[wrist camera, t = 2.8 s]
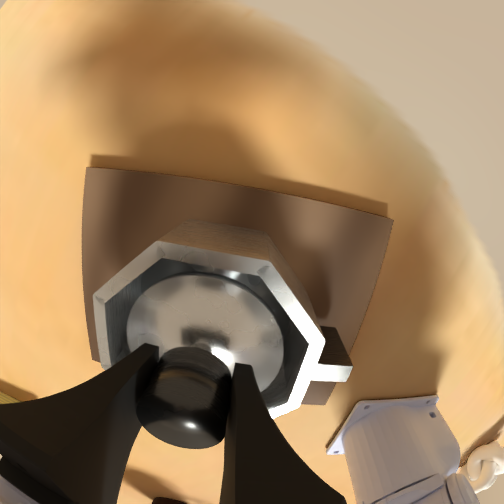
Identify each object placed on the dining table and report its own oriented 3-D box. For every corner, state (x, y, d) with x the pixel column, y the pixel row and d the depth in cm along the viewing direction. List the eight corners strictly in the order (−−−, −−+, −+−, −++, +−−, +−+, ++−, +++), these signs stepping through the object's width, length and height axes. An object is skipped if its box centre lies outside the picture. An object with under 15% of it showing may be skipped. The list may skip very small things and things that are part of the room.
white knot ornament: (508, 428, 24) (526, 454, 15) (468, 467, 27) (482, 494, 19) (489, 432, 23) (509, 464, 14) (442, 474, 26) (457, 507, 18)
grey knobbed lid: (299, 287, 11) (324, 362, 6) (264, 406, 13) (265, 481, 8) (131, 256, 11) (64, 306, 6) (135, 379, 13) (101, 444, 8)
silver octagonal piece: (352, 248, 14) (391, 282, 10) (306, 384, 17) (318, 439, 12) (140, 210, 14) (91, 228, 9) (137, 354, 17) (108, 402, 12)
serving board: (387, 217, 15) (393, 220, 14) (323, 398, 18) (325, 405, 18) (93, 167, 14) (86, 167, 13) (96, 354, 18) (92, 359, 17)
